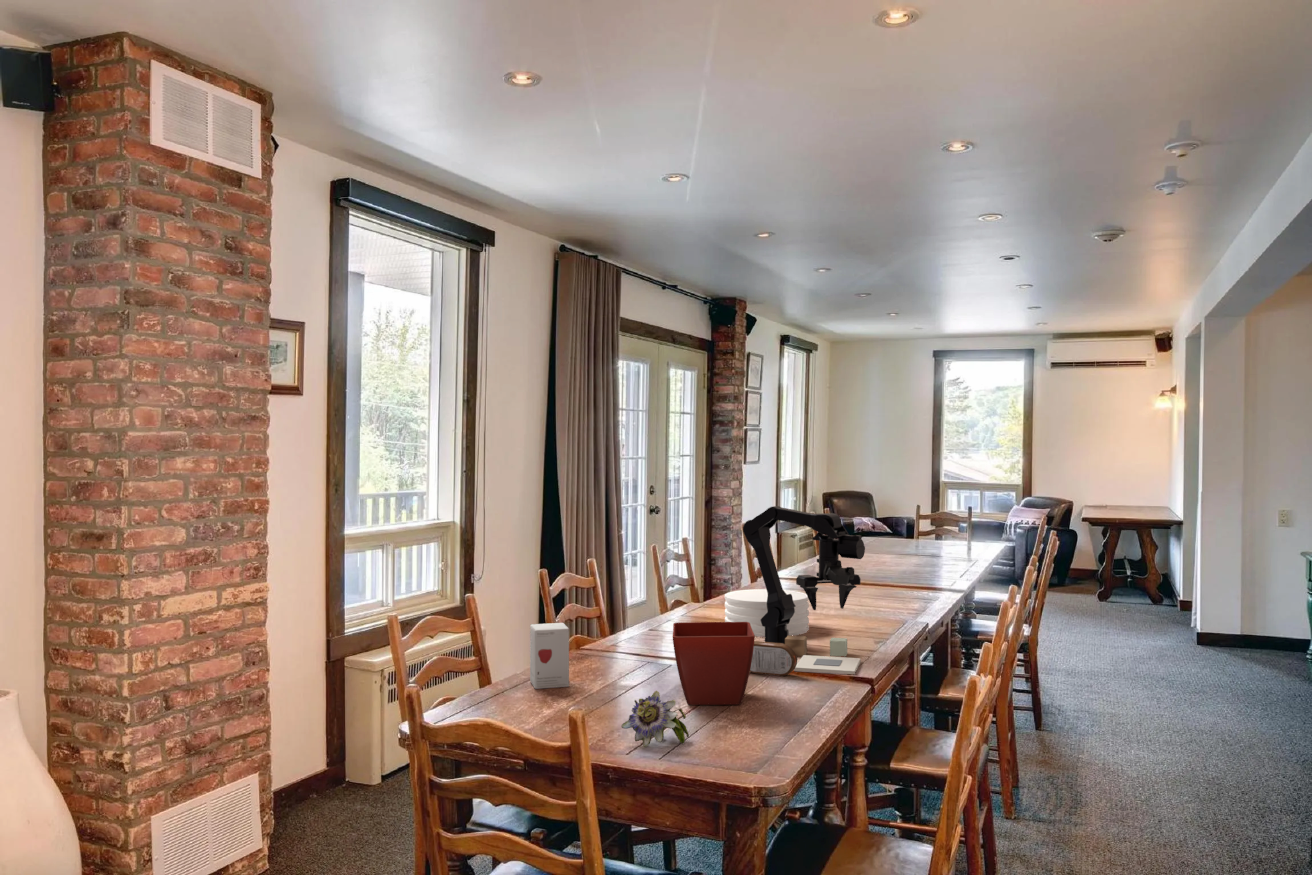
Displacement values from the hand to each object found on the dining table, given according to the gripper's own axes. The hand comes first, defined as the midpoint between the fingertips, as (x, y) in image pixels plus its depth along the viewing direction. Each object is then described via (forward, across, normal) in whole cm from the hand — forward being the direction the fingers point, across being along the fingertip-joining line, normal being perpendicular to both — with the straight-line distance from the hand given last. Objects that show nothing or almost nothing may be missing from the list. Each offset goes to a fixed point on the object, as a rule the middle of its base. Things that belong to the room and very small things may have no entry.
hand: (828, 609), depth 272 cm
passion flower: (+13, -75, -61) cm, 98 cm away
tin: (+13, -28, -18) cm, 36 cm away
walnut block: (+13, -10, +1) cm, 16 cm away
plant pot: (+13, -52, -35) cm, 64 cm away
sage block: (+13, +1, -4) cm, 13 cm away
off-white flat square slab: (+12, -9, -16) cm, 22 cm away
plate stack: (+14, 0, +40) cm, 42 cm away
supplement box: (+14, -85, -6) cm, 87 cm away
